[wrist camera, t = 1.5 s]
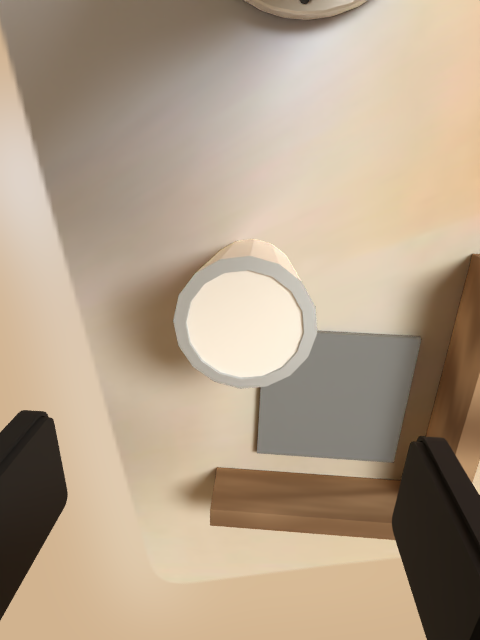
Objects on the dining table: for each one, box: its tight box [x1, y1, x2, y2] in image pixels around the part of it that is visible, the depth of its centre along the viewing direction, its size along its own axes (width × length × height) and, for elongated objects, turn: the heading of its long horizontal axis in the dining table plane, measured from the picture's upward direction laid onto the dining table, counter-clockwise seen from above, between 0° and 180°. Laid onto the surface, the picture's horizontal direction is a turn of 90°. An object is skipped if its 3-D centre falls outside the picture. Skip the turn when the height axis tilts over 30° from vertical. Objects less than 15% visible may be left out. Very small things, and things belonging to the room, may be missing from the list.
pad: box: [257, 331, 421, 463], centre depth 28 cm, size 10×10×1 cm
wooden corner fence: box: [210, 254, 480, 540], centre depth 26 cm, size 19×17×4 cm
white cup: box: [173, 239, 317, 389], centre depth 22 cm, size 7×7×7 cm
